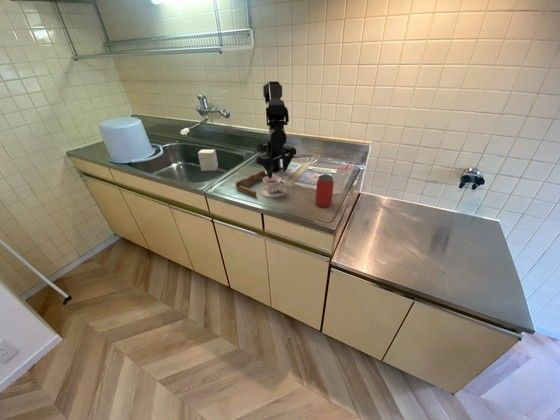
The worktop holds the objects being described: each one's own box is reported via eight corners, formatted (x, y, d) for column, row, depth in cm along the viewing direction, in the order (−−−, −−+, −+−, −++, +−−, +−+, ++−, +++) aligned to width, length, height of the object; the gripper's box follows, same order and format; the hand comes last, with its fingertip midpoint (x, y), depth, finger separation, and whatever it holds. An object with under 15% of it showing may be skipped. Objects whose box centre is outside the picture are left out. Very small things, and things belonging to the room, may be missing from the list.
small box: (218, 167, 137) (215, 149, 131) (215, 171, 132) (212, 152, 127) (204, 167, 138) (201, 149, 132) (201, 171, 133) (197, 152, 127)
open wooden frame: (263, 176, 126) (263, 169, 124) (281, 183, 119) (281, 175, 117) (236, 189, 114) (235, 181, 112) (254, 197, 107) (253, 189, 105)
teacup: (255, 195, 109) (254, 183, 106) (265, 184, 119) (264, 172, 116) (280, 199, 106) (280, 187, 103) (289, 187, 116) (289, 175, 112)
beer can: (313, 200, 105) (315, 174, 98) (328, 199, 105) (331, 173, 99) (317, 208, 99) (319, 181, 93) (333, 207, 100) (336, 180, 93)
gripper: (276, 130, 106) (277, 164, 115) (245, 140, 94) (248, 177, 103) (297, 134, 100) (296, 169, 108) (266, 145, 88) (267, 184, 97)
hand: (277, 174), depth 104 cm, fingers open, 9 cm apart
